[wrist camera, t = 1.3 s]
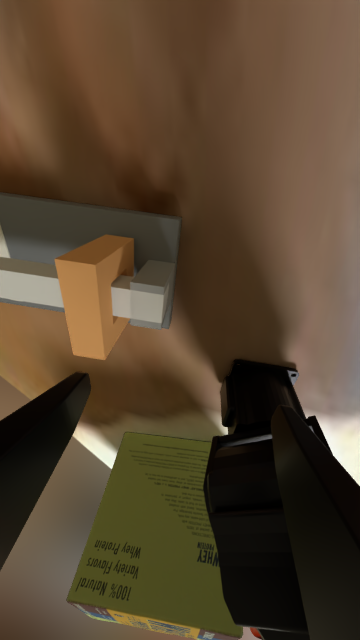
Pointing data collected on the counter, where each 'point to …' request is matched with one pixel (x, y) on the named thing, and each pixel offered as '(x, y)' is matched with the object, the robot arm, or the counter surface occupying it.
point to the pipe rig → (77, 230)
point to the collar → (94, 293)
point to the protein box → (155, 545)
